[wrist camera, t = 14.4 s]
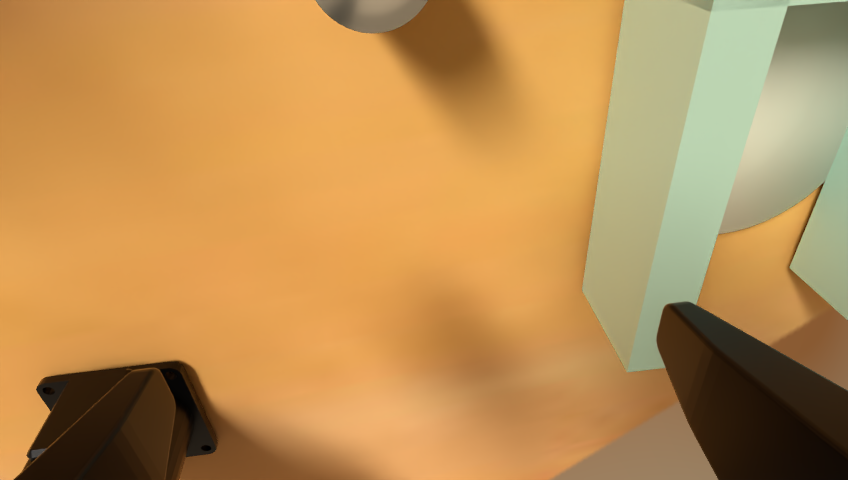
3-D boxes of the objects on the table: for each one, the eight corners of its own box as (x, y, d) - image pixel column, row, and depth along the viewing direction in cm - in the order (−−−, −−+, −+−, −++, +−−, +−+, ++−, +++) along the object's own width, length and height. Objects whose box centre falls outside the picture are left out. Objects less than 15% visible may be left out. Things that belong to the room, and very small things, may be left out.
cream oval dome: (821, 216, 24) (827, 221, 24) (605, 242, 24) (609, 247, 24) (920, -28, 19) (931, -27, 18) (640, -1, 18) (646, 1, 18)
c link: (638, -92, 16) (733, -82, 12) (1005, -116, 17) (1212, -115, 13) (582, 290, 25) (626, 372, 21) (829, 263, 25) (921, 338, 21)
